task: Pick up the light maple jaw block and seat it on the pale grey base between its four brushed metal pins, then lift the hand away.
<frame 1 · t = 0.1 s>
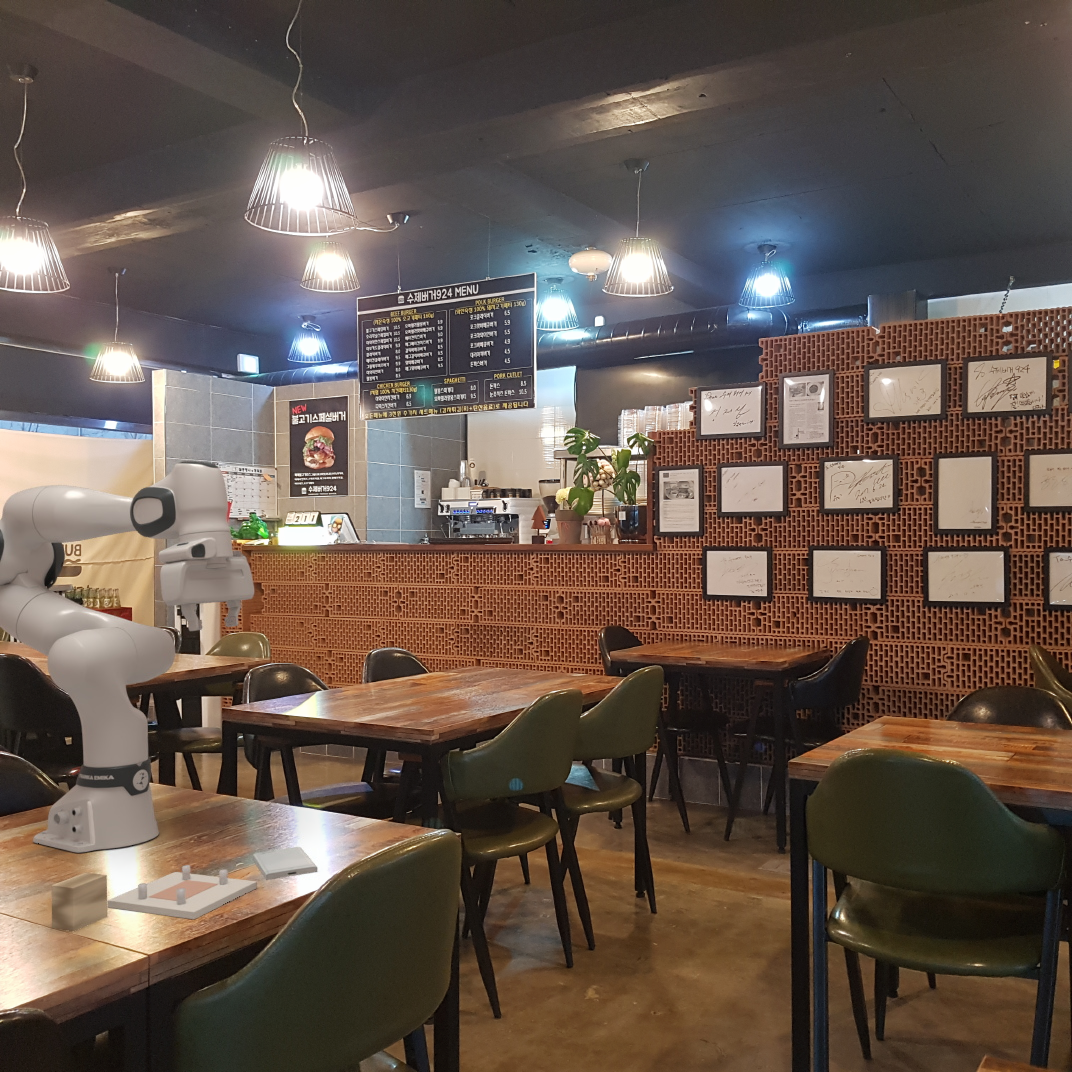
hand: (214, 628, 176), 39 cm above the table, tool pointing down, fingers open, 8 cm apart
hard drive: (284, 870, 165), on the table
pin base: (184, 897, 151), on the table
maple jaw block: (80, 922, 141), on the table
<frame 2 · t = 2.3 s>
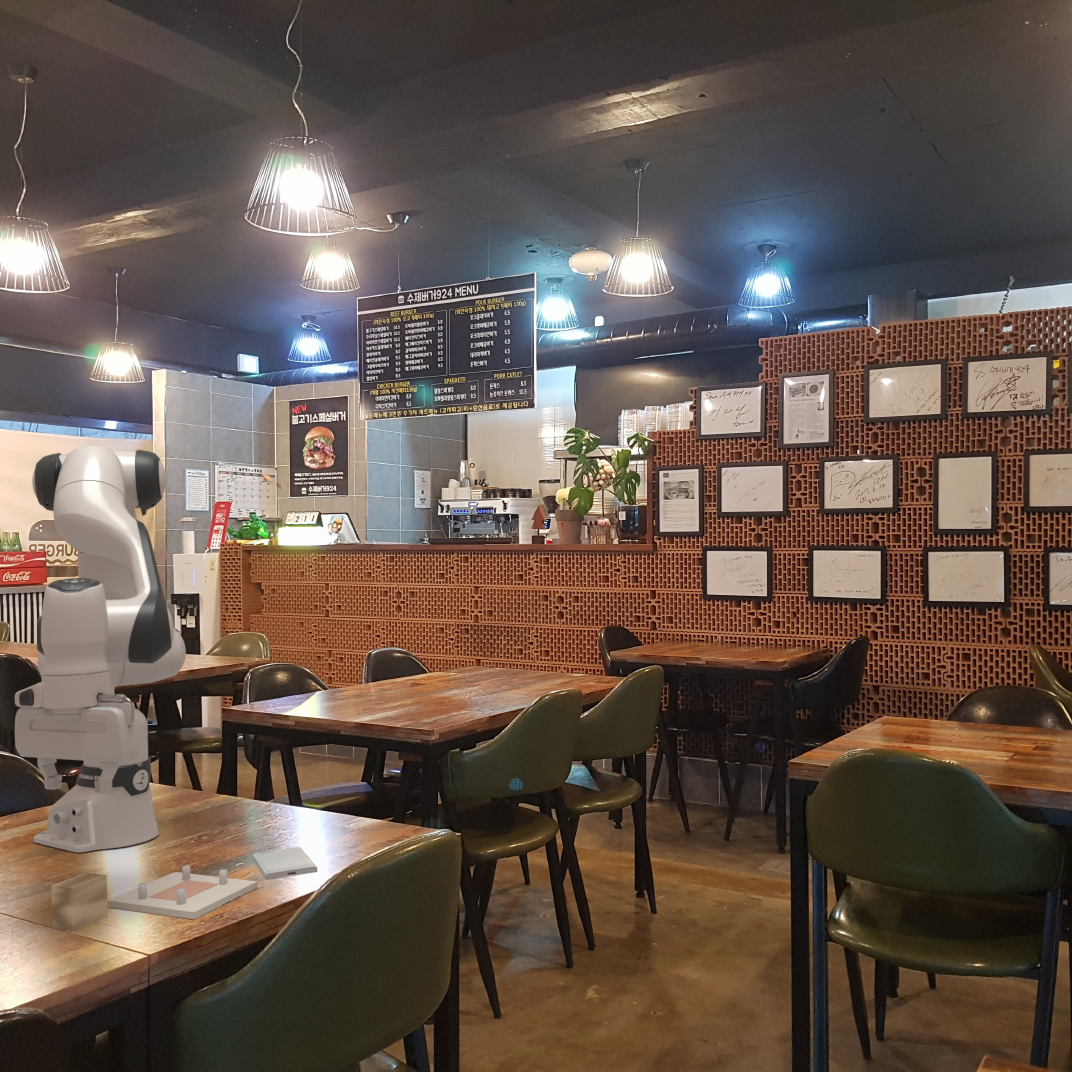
hand: (78, 790, 142), 19 cm above the table, tool pointing down, fingers open, 8 cm apart
nothing on the table moved.
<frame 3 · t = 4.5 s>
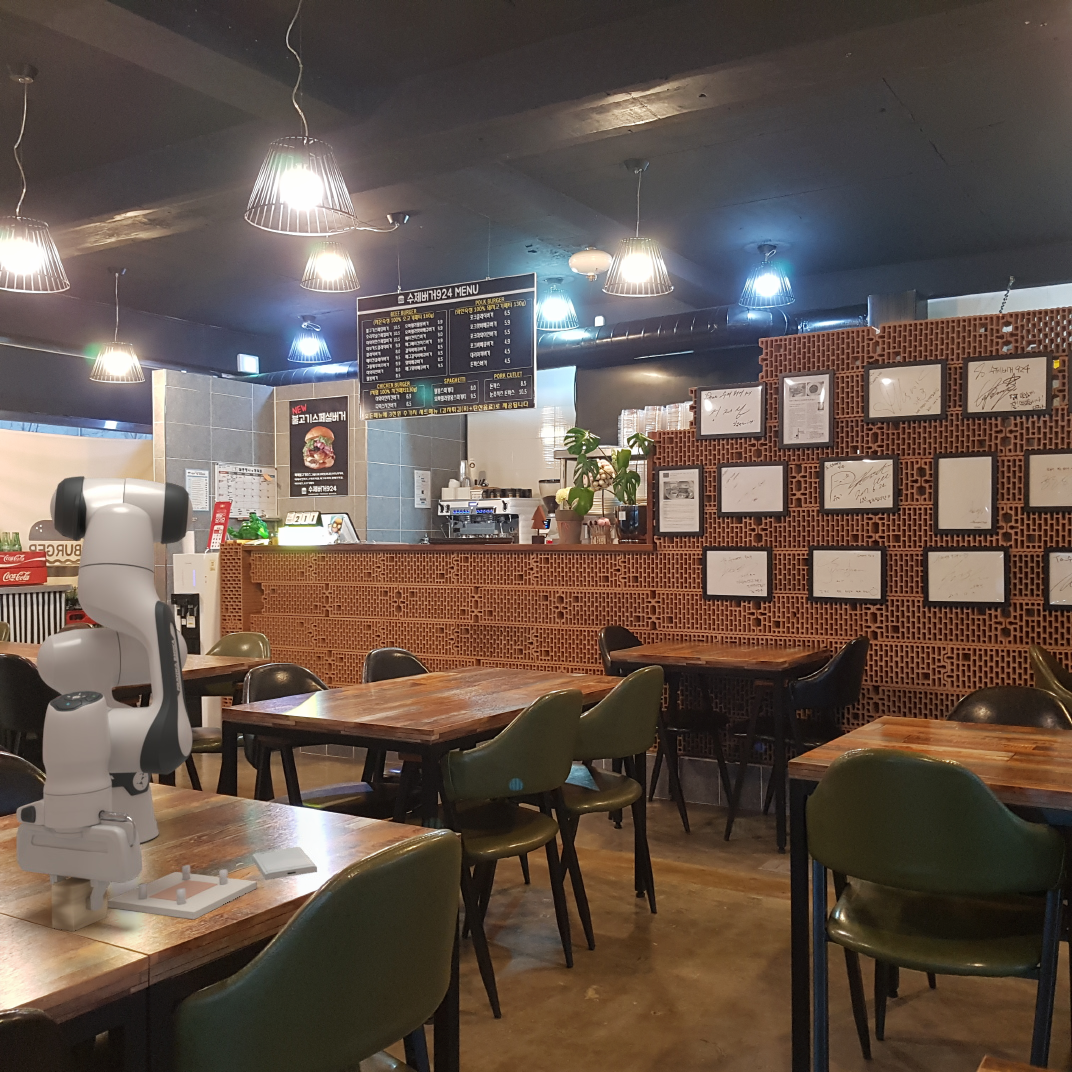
hand: (79, 907, 141), 2 cm above the table, tool pointing down, fingers closed on maple jaw block, 4 cm apart
maple jaw block: (80, 922, 141), on the table, touching gripper
everything else where it was.
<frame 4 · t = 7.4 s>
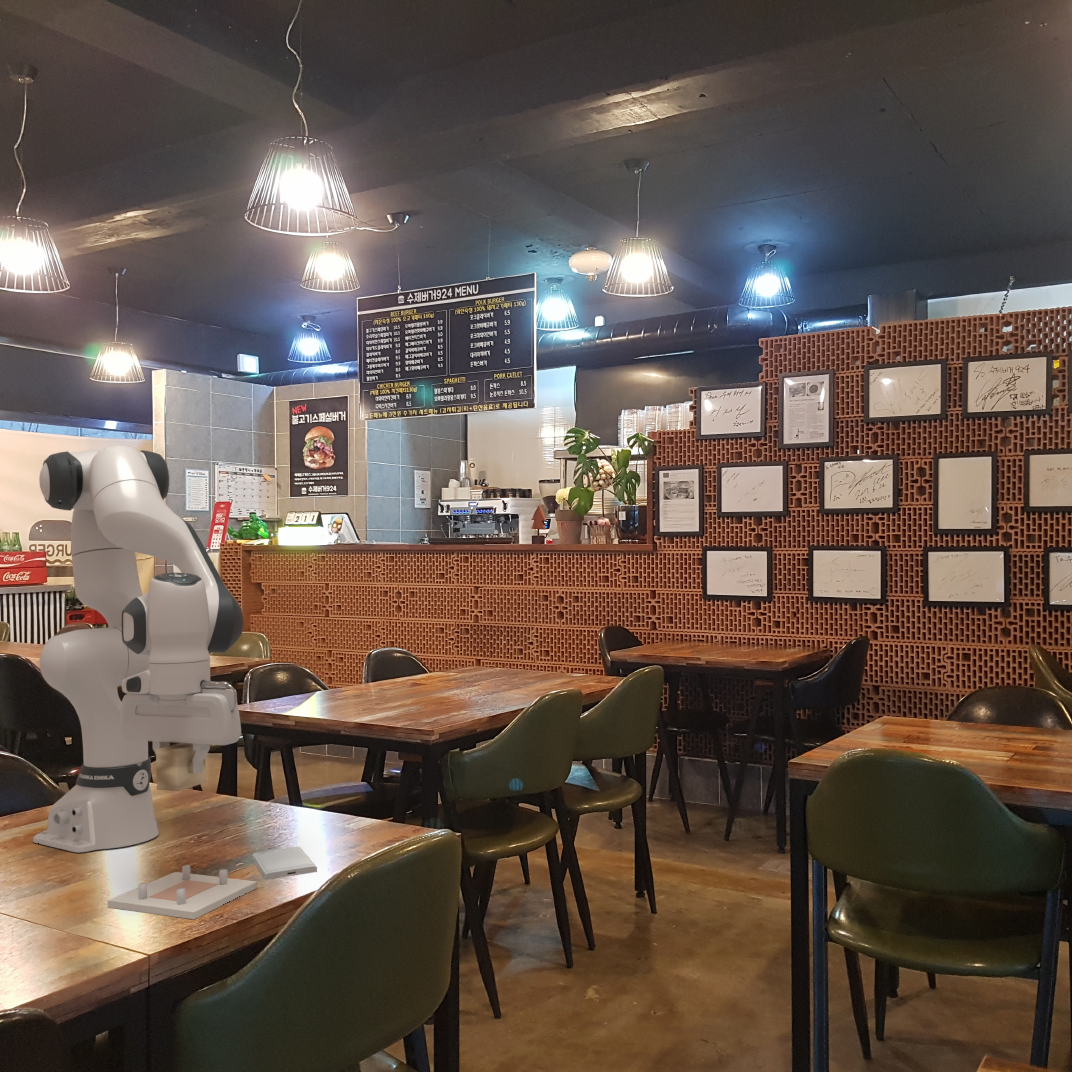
hand: (181, 771, 151), 19 cm above the table, tool pointing down, fingers closed on maple jaw block, 4 cm apart
maple jaw block: (181, 785, 151), point 17 cm above the table, touching gripper
everything else where it was.
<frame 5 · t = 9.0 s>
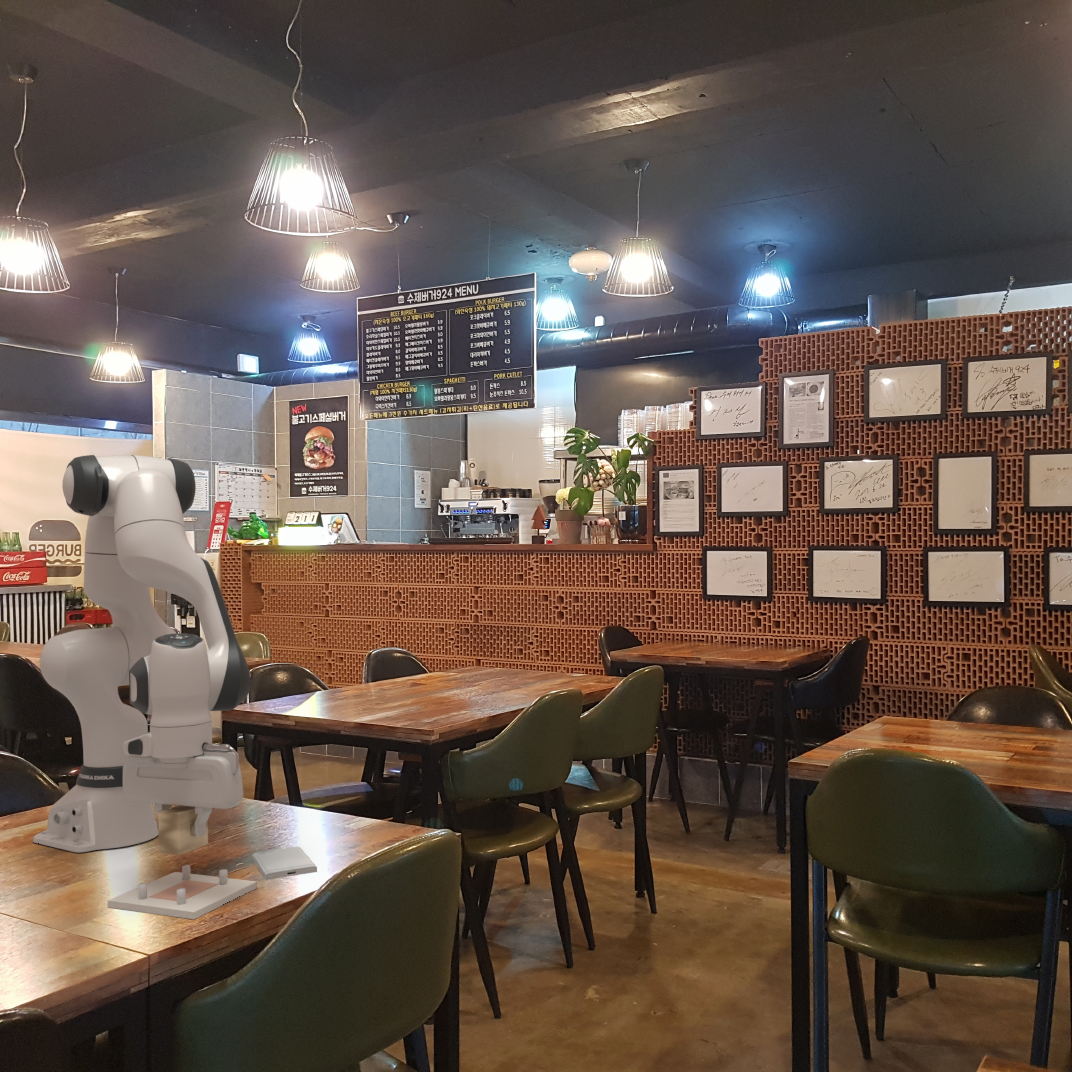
hand: (183, 834, 151), 10 cm above the table, tool pointing down, fingers closed on maple jaw block, 4 cm apart
maple jaw block: (184, 848, 151), point 7 cm above the table, touching gripper
everything else where it was.
when the fingers open (5 cm above the table, at t = 10.3 s): maple jaw block drops 1 cm, resting on pin base.
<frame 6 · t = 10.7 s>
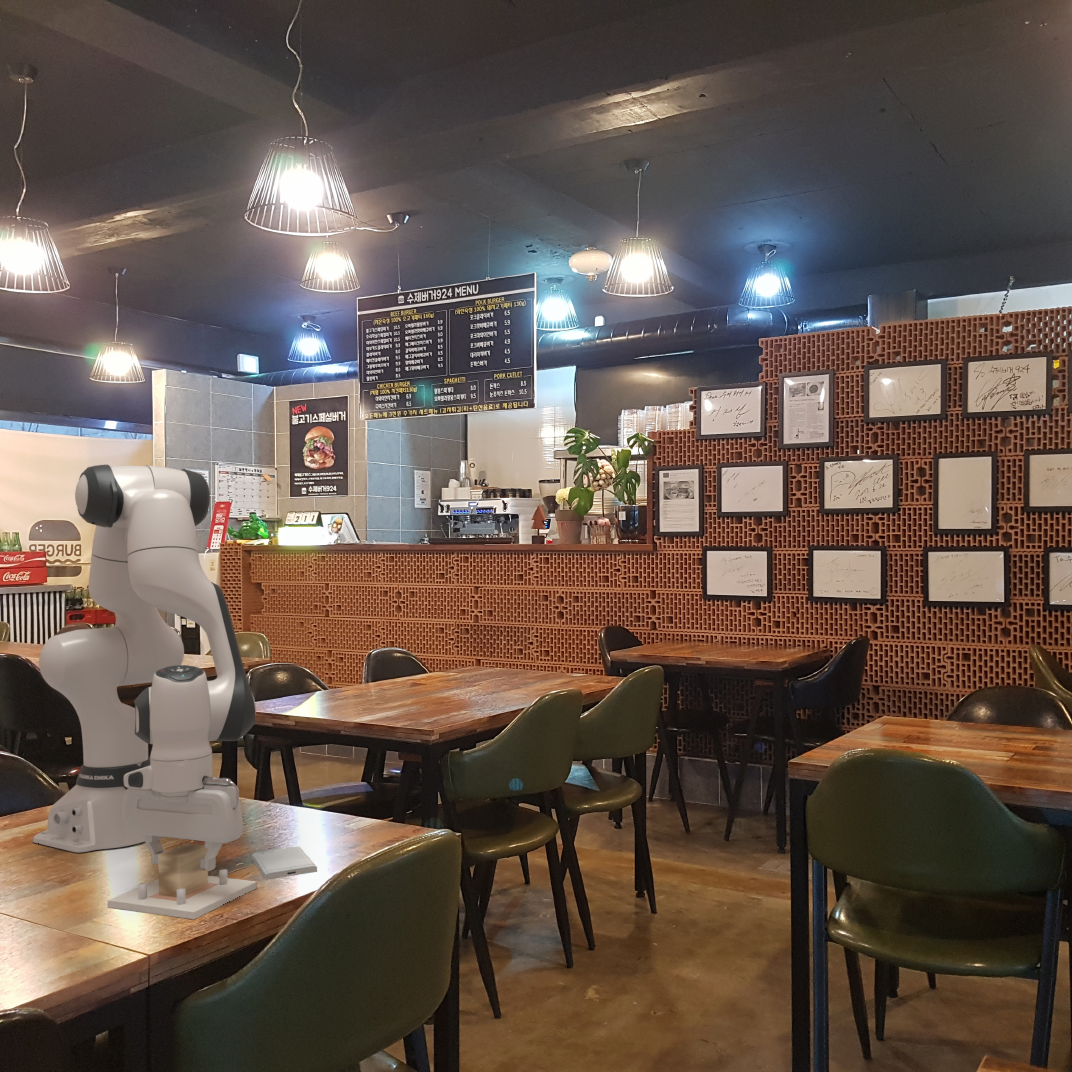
hand: (183, 866, 151), 5 cm above the table, tool pointing down, fingers open, 8 cm apart
maple jaw block: (183, 890, 151), point 1 cm above the table, touching pin base
everything else where it was.
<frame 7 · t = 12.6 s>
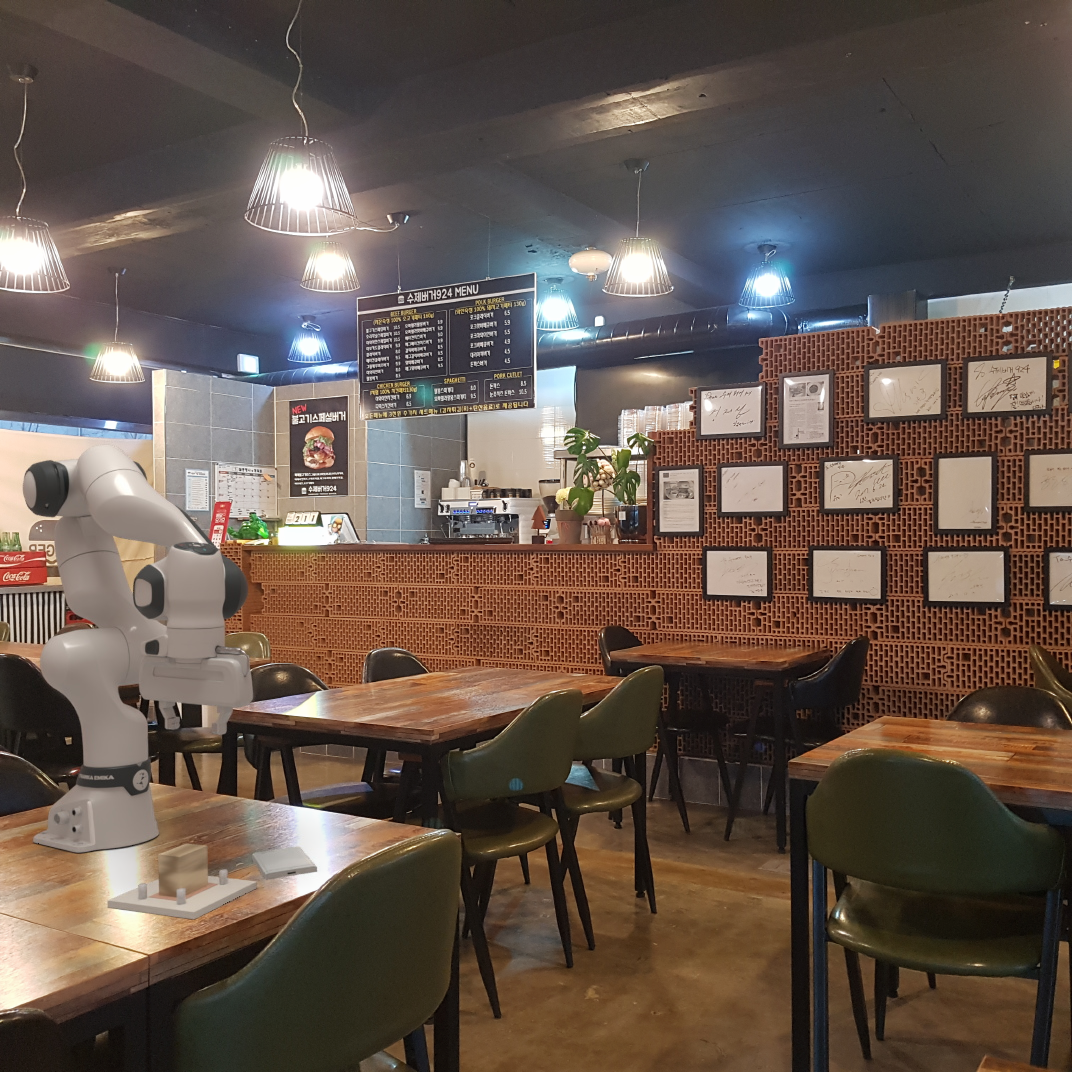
hand: (195, 731, 159), 24 cm above the table, tool pointing down, fingers open, 8 cm apart
nothing on the table moved.
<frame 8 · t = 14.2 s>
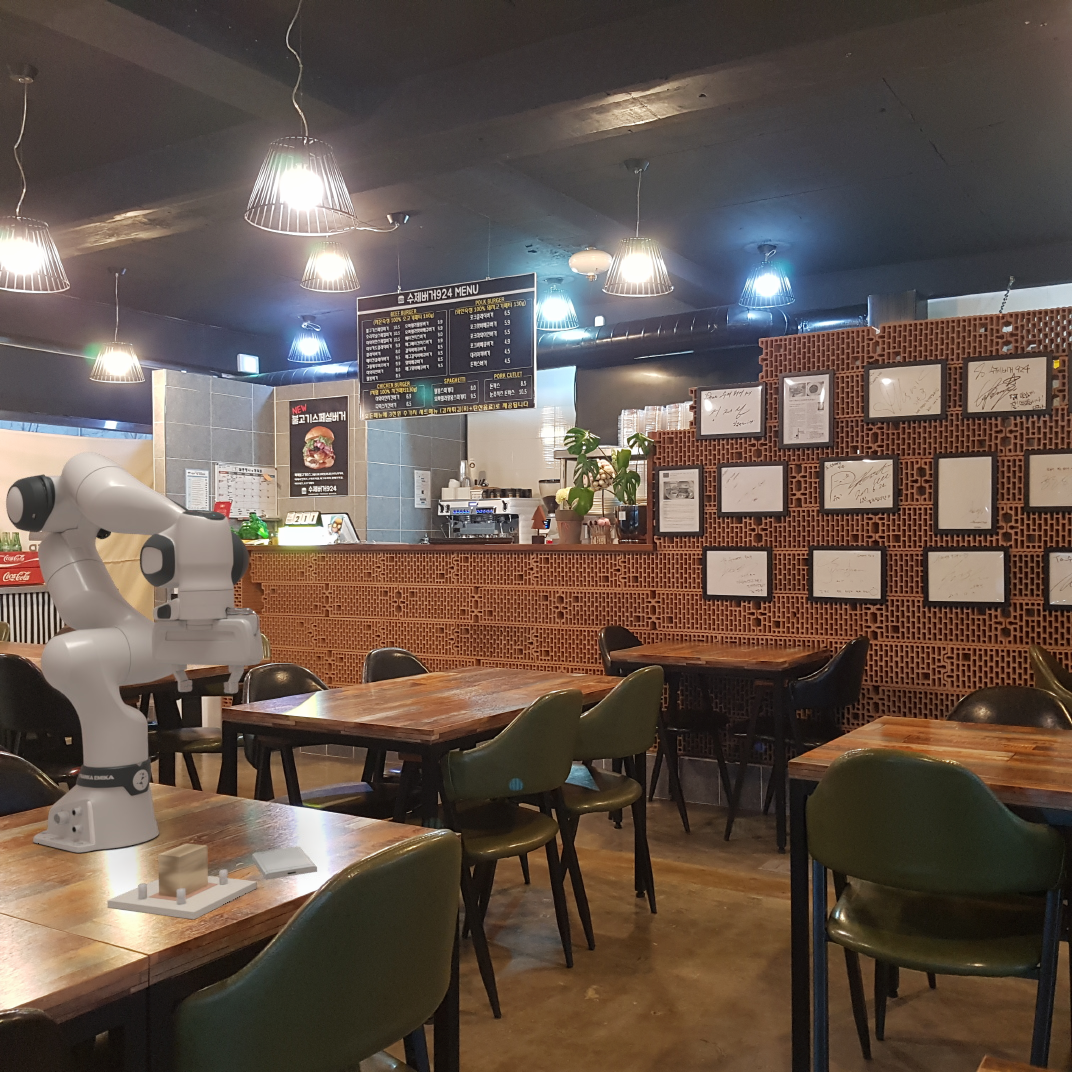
hand: (207, 692, 164), 29 cm above the table, tool pointing down, fingers open, 8 cm apart
nothing on the table moved.
at the end: maple jaw block 0.0 cm off-centre on the pin base, point 1.1 cm above the pin base's base; maple jaw block tilted 0°; the gripper is holding nothing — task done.
